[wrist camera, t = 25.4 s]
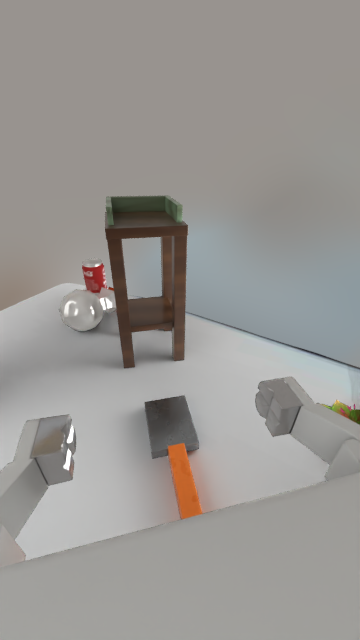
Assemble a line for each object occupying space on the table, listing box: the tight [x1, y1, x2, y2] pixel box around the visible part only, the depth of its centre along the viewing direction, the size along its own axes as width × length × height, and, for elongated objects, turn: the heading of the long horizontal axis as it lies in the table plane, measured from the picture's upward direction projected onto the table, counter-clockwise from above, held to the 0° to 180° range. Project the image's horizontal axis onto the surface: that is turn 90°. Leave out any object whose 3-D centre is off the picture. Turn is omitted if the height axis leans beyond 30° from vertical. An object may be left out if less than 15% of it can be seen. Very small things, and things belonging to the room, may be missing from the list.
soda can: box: [82, 259, 107, 295], centre depth 69 cm, size 5×5×12 cm
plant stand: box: [105, 196, 188, 368], centre depth 50 cm, size 13×12×28 cm
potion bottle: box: [59, 287, 116, 331], centre depth 62 cm, size 9×10×15 cm
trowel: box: [145, 396, 203, 519], centre depth 35 cm, size 19×6×2 cm, turn 13°
